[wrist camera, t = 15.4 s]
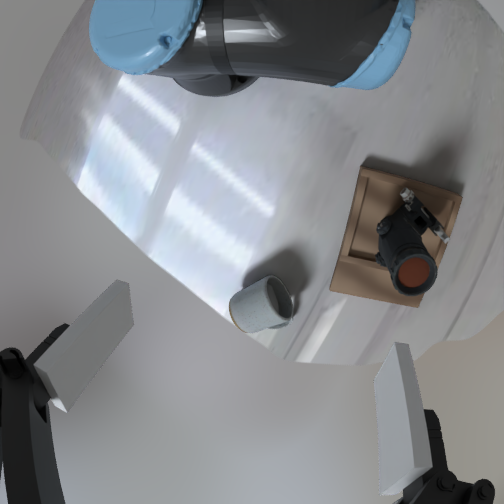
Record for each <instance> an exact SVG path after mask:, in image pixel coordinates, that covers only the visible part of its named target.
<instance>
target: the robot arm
mask: <svg viewBox="0 0 504 504" xmlns="http://www.w3.org/2000/svg"><path fill="white" fill-rule="evenodd" d="M414 17H415V0H95V3H94V5H93V8H92V12H91V16H90V23H89V34H90V41H91V45H92V47H93V50H94V52H95V53H97V55H98V56H99V58H100V60H101V61H102V62H103V63H104V64H106V65H107V66H109V67H111V68H113V69H116V70H121V71H124V72H125V73H127V74H132V75H142V74H148V75H156V76H164V77H170V78H173V79H174V80H175V82H176V83H177V84H179V85H180V86H181V87H183V88H184V89H186V90H188V91H190V92H192V93H195V94H198V95H203V96H212V97H219V96H227V95H231V94H234V93H237V92H239V91H241V90H243V89H245V88H247V87H248V86H250V85H251V84H252V83H254V82H255V81H256V80H257V79H258V78H259V77H269V78H279V79H287V80H295V81H303V82H310V83H316V84H323V85H328V86H329V87H335V88H339V87H349V88H356V89H363V90H371V89H376V88H378V87H380V86H382V85H383V84H385V83H386V82H387V81H388V80H389V79H390V78H391V77H392V76H393V74H394V73H395V71H396V70H397V68H398V67H399V65H400V63H401V61H402V59H403V57H404V55H405V52H406V50H407V47H408V44H409V41H410V38H411V30H410V26H411V25H412V23H413V21H414ZM133 325H134V321H133V314H132V306H131V298H130V289H129V283H127V282H123V281H120V280H116V281H115V282H114V283H112V285H110V286H109V287H108V288H107V289H106V290H105V291H104V292H103V293H102V294H101V295H100V296H99V297H98V298H97V299H96V300H95V301H94V302H93V303H92V304H91V305H90V306H89V307H88V308H87V309H86V310H85V311H84V312H83V313H82V314H81V315H80V316H79V317H78V318H77V319H76V320H75V321H74V322H73V323H72V324H71V325H68V324H63V325H61V326H59V327H57V328H55V330H54V331H52V332H51V334H49V337H47V338H46V339H45V340H44V342H42V343H41V344H40V345H39V346H38V347H37V348H36V349H35V350H34V351H33V352H32V353H31V354H30V355H29V356H28V357H27V359H26V360H25V359H24V357H23V355H22V353H21V352H20V350H18V349H16V348H7V349H4V350H3V351H1V352H0V478H1V470H2V462H3V467H4V477H5V485H6V492H7V498H8V504H65V500H64V496H63V492H62V488H61V484H60V479H59V474H58V469H57V464H56V459H55V453H54V446H53V439H52V432H51V424H50V414H49V406H48V403H47V402H48V401H49V400H50V398H51V400H52V401H53V403H54V405H55V406H56V407H58V408H60V409H61V410H63V411H65V412H67V413H68V412H69V410H70V409H71V408H72V406H73V405H74V403H75V402H76V401H77V399H78V398H79V397H80V395H81V394H82V392H83V391H84V390H85V388H86V387H87V386H88V384H89V383H90V381H91V380H92V379H93V378H94V376H95V375H96V374H97V372H98V371H99V370H100V368H101V367H102V366H103V364H104V363H105V362H106V360H107V359H108V357H109V356H110V355H111V354H112V352H113V351H114V350H115V348H116V347H117V346H118V345H119V343H120V342H121V341H122V339H123V338H124V337H125V335H126V334H127V333H128V332H129V330H130V329H131V328H132V327H133ZM374 387H375V398H376V412H377V426H378V447H379V495H396V494H398V493H399V492H400V491H402V490H403V497H402V498H400V499H399V500H397V501H396V502H394V503H393V504H493V500H494V496H495V489H494V486H493V484H492V483H491V482H490V481H489V480H487V479H481V480H478V481H477V482H476V483H474V484H471V483H466V482H462V481H458V480H457V478H456V476H455V475H454V474H453V473H452V472H451V471H449V470H448V467H447V461H446V455H445V449H444V443H443V439H442V432H441V431H440V430H441V427H440V422H439V419H438V417H437V415H436V414H435V412H434V410H426V409H423V405H422V399H421V394H420V390H419V385H418V381H417V377H416V372H415V368H414V364H413V360H412V356H411V352H410V348H409V344H405V343H398V342H394V344H393V346H392V348H391V350H390V352H389V354H388V355H387V357H386V359H385V361H384V363H383V365H382V366H381V368H380V370H379V372H378V373H377V375H376V377H375V379H374Z"/></svg>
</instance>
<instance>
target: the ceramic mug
mask: <svg viewBox="0 0 504 504" xmlns="http://www.w3.org/2000/svg"><path fill="white" fill-rule="evenodd" d="M229 312H230V316H231V318H232V321H233V322H234V324H235V325H236V326H237V327H238V328H239V329H240V330H241V331H243V332H245V333H254V332H258V331H261V330H264V329H266V328H268V329H279V328H283V327H286V326H288V325H290V324H291V323H292V321H293V304H292V300H291V297H290V294H289V292H288V290H287V289H286V287H285V285H284V284H283V283H282V282H281V280H280V279H279V278H277V277H275V276H273V275H269V276H267V277H265V278H263V279H261V280H259V281H257V282H256V283H254V284H252V285H250V286H248V287H247V288H245V289H243V290H241V291H239V292H237V293H236V294H235V295H234V296H233V297H232V298H231V299H230V302H229Z"/></svg>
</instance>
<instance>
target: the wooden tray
mask: <svg viewBox="0 0 504 504" xmlns="http://www.w3.org/2000/svg"><path fill="white" fill-rule="evenodd" d="M404 188H408V190H412V191H413V193H414V195H415V196H416V197H417V198H418V199H419V200H420V201H421V202H422V203H423V204H424V205H425V206H421V208H422V209H423V210H424V207H426V208H427V209H428V210H429V211H430V212H431V213H432V214H433V215H434V217H435V218H436V219H437V220H438V221H439V222H440V223H441V224H442V226H443V227H444V229H442V228H441V229H442V230H443V231H444V232H445V233H446V235H447V236H448V237H449V238H450V235H451V232H452V229H453V226H454V223H455V220H456V217H457V214H458V211H459V208H460V204H461V201H462V196H460V195H459V194H457V193H454V192H451V191H448V190H445V189H442V188H439V187H436V186H432V185H429V184H426V183H423V182H419V181H416V180H412V179H409V178H405V177H402V176H398V175H394V174H391V173H387V172H383V171H379V170H375V169H371V168H367V167H363V166H360V170H359V175H358V179H357V184H356V188H355V193H354V197H353V201H352V205H351V210H350V214H349V218H348V222H347V226H346V230H345V234H344V237H343V241H342V245H341V249H340V252H339V256H338V260H337V263H336V267H335V270H334V274H333V277H332V281H331V284H330V291H333V292H338V293H343V294H348V295H353V296H358V297H364V298H369V299H374V300H379V301H384V302H390V303H395V304H400V305H405V306H411V307H416V308H418V306H419V304H420V302H421V300H422V298H423V295H424V293H423V294H421V295H418V296H405V295H403V294H400V293H399V292H398V290H396V289H395V288H394V286H393V283H392V280H391V277H390V276H391V275H390V273H389V270H388V268H387V267H383V266H380V264H378V263H377V262H376V257H375V254H377V252H379V249H378V240H379V233H377V231H376V228H377V224H378V223H380V222H381V220H382V219H384V218H385V217H387V216H390V215H392V214H393V213H394V212H395V211H396V210H397V209H398V208H399V207H400V206H401V205H402V204H404V203H405V201H404V200H403V199H402V196H401V195H400V193H401V191H402V190H403V189H404ZM436 234H437V233H436ZM421 237H422V242H423V244H424V245H425V247H426V249H427V251H428V253H430V255H431V256H432V257H433V258H434V260H435V262H436V265H437V269H438V267H439V265H440V262H441V259H442V257H443V254H444V252H445V249H446V246H447V243H448V242H447V243H446V244H445V243H444V242H443V240H442V239H441V238H440V237H439V236H438V234H437V236H435V235H434V233H433V232H432V231H431V230H430V229H429V228H428V229H427V230H426V231H425V233H424V234H423V235H422V236H421Z"/></svg>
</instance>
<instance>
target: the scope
mask: <svg viewBox="0 0 504 504" xmlns="http://www.w3.org/2000/svg"><path fill="white" fill-rule="evenodd" d="M400 195H401V196H402V199H403V200H404V201H405V203H404V204H402V205H401V206H400V207H399V208H398V209H397V210H396V211H395V212H394V213H393V214H392V215H390V216H387V217H385V218H384V219H382V220H381V222H380V223H378V224H377V228H376V231H377V233H379V240H378V249H379V252H377V254H375V257H376V262H377V263H378V264H380V266H383V267H387V268H388V270H389V273H390V275H391V276H390V277H391V280H392V283H393V286H394V288H395V289H396V290H398V292H399V293H400V294H403V295H405V296H418V295H421V294H423V293H425V292H426V291H428V290H429V289H430V288H431V287H432V285H433V284H434V282H435V280H436V278H437V270H438V269H437V265H436V262H435V260H434V258H433V257H432V256H431V255H430V253H428V251H427V249H426V247H425V245H424V244H423V242H422V237H421V236H422V235H423V234H424V233H425V231H426V230H427V229H428V228H429V229H430V230H431V231H432V232H433V233H434V235H435V236H437V234H438V236H439V237H440V238H441V239H442V240H443V242H444V243H445V244H446V243H447V242H448V241H449V240H450V238H449V237H448V236H447V235H446V233H445V232H444V231H443V230H442V229H444V227H443V226H442V224H441V223H440V222H439V221H438V220H437V219H436V218H435V217H434V215H433V214H432V213H431V212H430V211H429V210H428V209H427V208H426V207H424V210H423V209H422V208H421V206H425V205H424V204H423V203H422V202H421V201H420V200H419V199H418V198H417V197H416V196H415V195H414V193H413V191H412V190H408V188H404V189H403V190H402V191H401V193H400ZM441 228H442V229H441ZM436 233H437V234H436Z"/></svg>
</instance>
